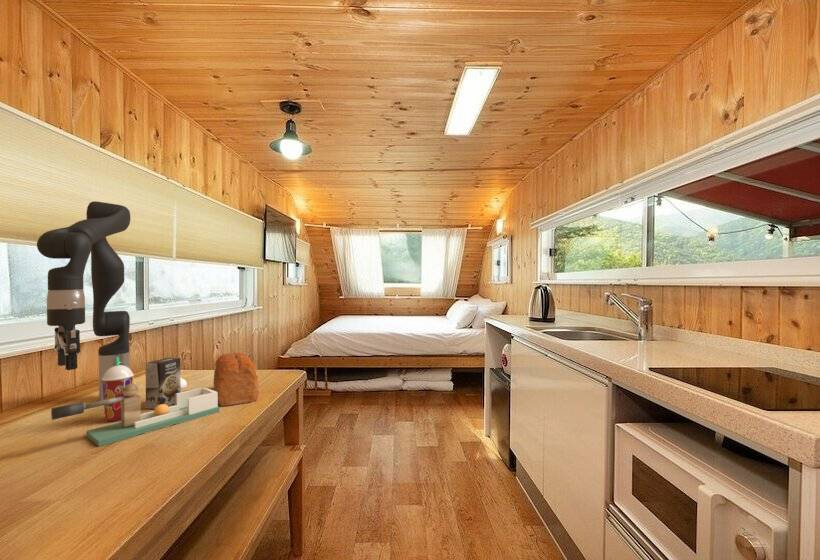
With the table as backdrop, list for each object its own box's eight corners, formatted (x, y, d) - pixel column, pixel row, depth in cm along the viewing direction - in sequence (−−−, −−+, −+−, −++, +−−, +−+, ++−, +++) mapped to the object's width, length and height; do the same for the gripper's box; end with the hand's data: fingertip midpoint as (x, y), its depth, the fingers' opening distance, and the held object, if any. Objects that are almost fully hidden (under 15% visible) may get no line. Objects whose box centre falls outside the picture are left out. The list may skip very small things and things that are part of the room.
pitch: (86, 436, 107) (86, 413, 107) (202, 404, 132) (202, 386, 132) (98, 446, 100) (98, 422, 100) (219, 411, 125) (219, 392, 125)
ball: (151, 417, 116) (151, 405, 116) (166, 413, 120) (166, 401, 120) (156, 420, 114) (156, 407, 114) (171, 416, 117) (171, 403, 117)
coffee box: (160, 409, 128) (159, 363, 128) (145, 408, 129) (144, 362, 129) (181, 401, 137) (181, 357, 137) (167, 400, 138) (166, 357, 138)
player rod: (51, 442, 98) (50, 398, 98) (137, 420, 113) (136, 381, 113) (54, 446, 96) (53, 400, 96) (141, 422, 111) (140, 383, 111)
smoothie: (141, 415, 123) (140, 355, 123) (113, 424, 115) (112, 360, 115) (123, 412, 125) (122, 353, 125) (95, 421, 118) (94, 358, 118)
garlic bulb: (174, 387, 157) (172, 368, 157) (190, 385, 158) (187, 366, 158) (166, 392, 151) (164, 372, 151) (182, 389, 151) (180, 370, 151)
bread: (249, 384, 159) (249, 349, 159) (260, 401, 136) (259, 360, 136) (212, 389, 152) (212, 352, 152) (217, 408, 129) (217, 365, 129)
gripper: (41, 307, 100) (42, 366, 100) (53, 308, 92) (54, 374, 92) (77, 305, 106) (78, 361, 106) (92, 306, 98) (93, 368, 98)
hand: (67, 367), depth 99 cm, fingers open, 8 cm apart
